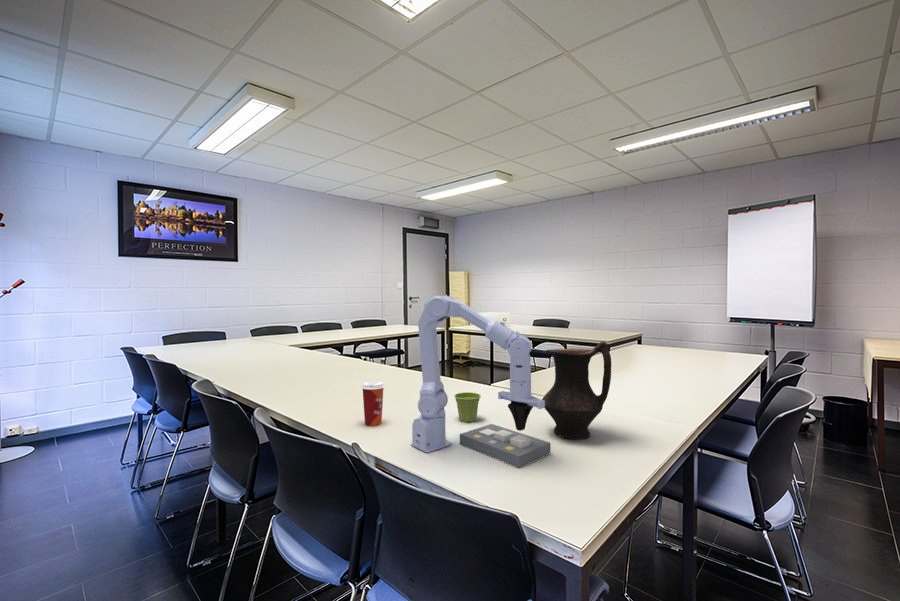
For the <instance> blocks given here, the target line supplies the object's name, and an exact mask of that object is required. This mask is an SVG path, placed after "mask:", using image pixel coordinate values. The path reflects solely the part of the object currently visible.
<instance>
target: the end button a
mask: <svg viewBox="0 0 900 601" xmlns="http://www.w3.org/2000/svg"><path fill="white" fill-rule="evenodd" d="M495 432H496V431H493V430H490V429H486V430H483V431H480V432H479V434H482V435H485V436H487V437H490V436H493V435H494V433H495Z"/></svg>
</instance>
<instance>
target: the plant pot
mask: <svg viewBox="0 0 900 601" xmlns="http://www.w3.org/2000/svg"><path fill="white" fill-rule="evenodd" d="M453 397H454V398H455V402H456V406H457V407H456V408H457V412H458V419H459V421H460V422H463V423H467V422H471V423H472V422H475V421H476V420H477V417H478V409H479V401H480V399H481V397H482V396H481V394H479V393H476V392H472V391H471V392H468V391H467V392H458V393H456V394H454V396H453Z"/></svg>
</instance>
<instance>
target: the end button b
mask: <svg viewBox="0 0 900 601" xmlns="http://www.w3.org/2000/svg"><path fill="white" fill-rule="evenodd" d="M510 445H513V446H516V447H518V448H521V449H523V448H525V447H528V446H530V445H531V439H530V438H527V437H524V436H521V435H518V436H515V437H513V438H510Z"/></svg>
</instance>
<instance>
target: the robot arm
mask: <svg viewBox="0 0 900 601" xmlns="http://www.w3.org/2000/svg"><path fill="white" fill-rule="evenodd" d="M423 306H424V307H423V311H422V313H421V315H420V317H419V320H418V323H417V324H418V338H419V350H420V363H421V365H420V366H421V374H422V384H421V386H420V387H421V388H420V390H419V400H418V402H417V409H418V412H419V413H420V416H419V417H416V418H415V419H413V421H412V426H411V427H412V429H411V430H412V433H411V435H412V440H411V441H412V443H410V446H412V447H414V448H416V449H419V450H421V451H422V452H425V453H427V454H429V453H430V452H433V451H437V450H439V449H442V448H446V447H449V446H451V445H452V444H453V442H451V441H448V440H446V411H445V407H447V405H448V401H449V398H448V394H447V392H446V390H445V386H444V384H443V382H442V380H441V370H440V359H439V358H440V357H439V346H438V335H437V334H438V332H437V328H438V327H439V326H440V325H441V324H442V322H443V321H445V320H446V319H448V318H449V317H450V318H451V317H452V318H461V319H463V320H464V321H467V322H468V323H470V324H471V325H473V326H475V327H476V328H478V329H480V330H482V331H483V332H484V334H485V335H484V336H485V338H486V339H488V341H491V342H492V343H494V344H495V345H497V346H499V347H500V348H501V349H503V350H505V351H506V350H507V351H508V354H509V356H510V358H509V359H510V361H509V362H510V363H509V391H505V390H502V391H498V392H497V393H498V394H497V399H498V400H504V401H505V400H506V401H509V402H510V403H508V404H507V407H508V409H509V412H511V416H512V418H513V420H514V424H515V429H516V430H517V431H518V432H519V431H523V430H526V425H527V420H528V418H529V415H530V413H531V411H532V410H533V408H537V409H538V410H542V409H545V401H544V400H542V399H540V398H538V397H535V396H533V395H532V363H531V354H530V353H531V351H532V347H533V346H532V342H531V340H530V339H529V338H528V337H527V335H525V334H524V335H523V334H521V333H520V331H517V330H516V331H515V330H513V329H511V328H510V327H509V326H506V322H504V321H502V320H501V321H498V320H493V321H491V320H489V319H487V318H486V317H484V316H483V315H482V314H480V313H478V312H477V311H476V310H475V309H473V308H471V307H470V306H469V305H467V304H465V303H464V302H463V301H460V300H459V299H455V298H454V297H453V296H450V295H434V296H432V297H430V298H429V300H427V301H426V302H425V303H424V305H423Z"/></svg>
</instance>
